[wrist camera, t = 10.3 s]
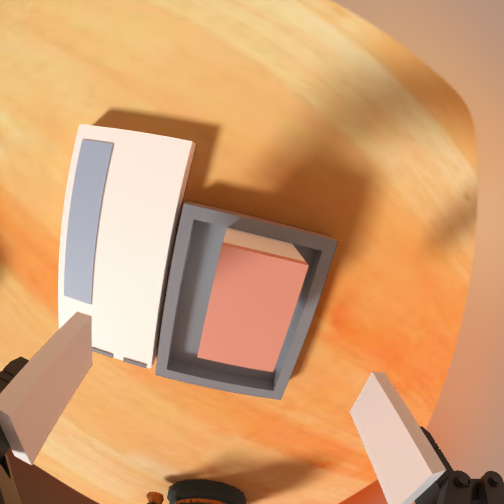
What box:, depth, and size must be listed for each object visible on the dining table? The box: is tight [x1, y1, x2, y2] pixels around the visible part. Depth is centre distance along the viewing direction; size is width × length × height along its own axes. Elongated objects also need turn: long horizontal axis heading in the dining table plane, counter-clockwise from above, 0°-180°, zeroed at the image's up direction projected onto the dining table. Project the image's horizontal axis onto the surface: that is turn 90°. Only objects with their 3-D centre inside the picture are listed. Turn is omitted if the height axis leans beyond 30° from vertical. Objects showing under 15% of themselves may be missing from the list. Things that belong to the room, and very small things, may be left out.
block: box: [197, 227, 309, 372], centre depth 17 cm, size 6×4×6 cm, turn 166°
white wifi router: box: [58, 124, 196, 369], centre depth 19 cm, size 16×8×2 cm, turn 166°
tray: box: [155, 201, 337, 400], centre depth 20 cm, size 13×10×2 cm
